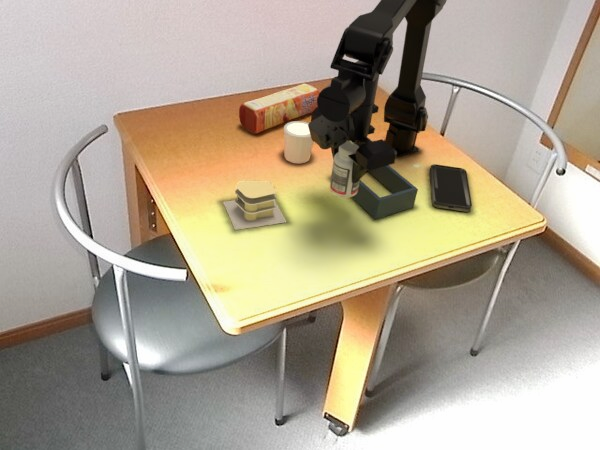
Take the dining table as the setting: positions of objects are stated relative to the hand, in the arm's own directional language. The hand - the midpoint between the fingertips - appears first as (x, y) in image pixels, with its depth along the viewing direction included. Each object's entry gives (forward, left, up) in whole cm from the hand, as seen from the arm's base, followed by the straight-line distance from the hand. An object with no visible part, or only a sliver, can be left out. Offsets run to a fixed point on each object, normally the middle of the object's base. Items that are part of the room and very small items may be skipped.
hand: (345, 174), depth 115 cm
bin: (-10, -3, -9) cm, 13 cm away
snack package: (-8, -37, -9) cm, 39 cm away
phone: (-26, +3, -9) cm, 28 cm away
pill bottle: (0, 0, -4) cm, 4 cm away
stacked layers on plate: (+15, -7, -9) cm, 19 cm away
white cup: (-3, -21, -9) cm, 23 cm away
